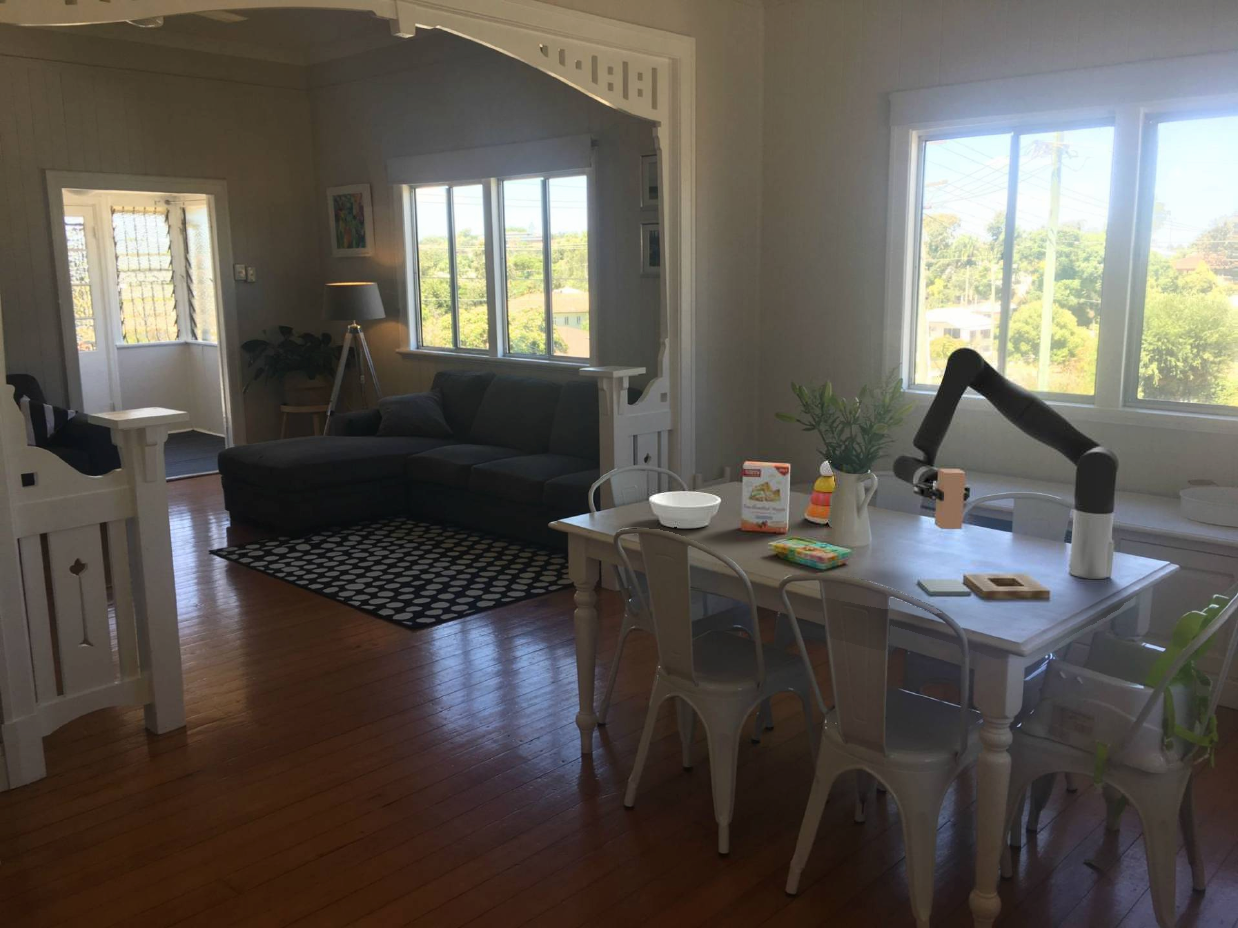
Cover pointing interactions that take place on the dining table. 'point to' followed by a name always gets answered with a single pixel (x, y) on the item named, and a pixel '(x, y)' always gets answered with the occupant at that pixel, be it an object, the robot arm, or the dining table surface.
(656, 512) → the bowl
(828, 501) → the stacking toy
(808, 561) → the puzzle game
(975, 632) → the dining table surface
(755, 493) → the cracker box
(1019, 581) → the walnut puzzle board
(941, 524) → the terracotta block
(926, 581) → the slate pad
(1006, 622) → the dining table surface
